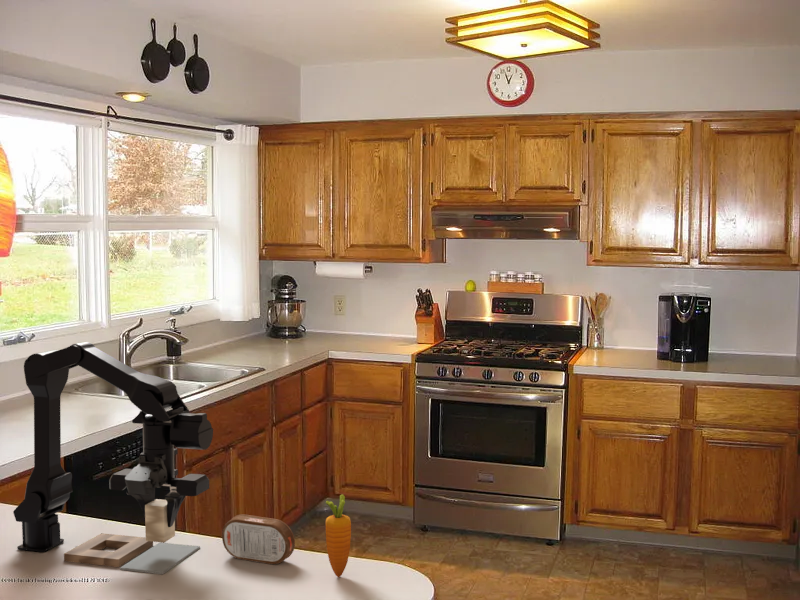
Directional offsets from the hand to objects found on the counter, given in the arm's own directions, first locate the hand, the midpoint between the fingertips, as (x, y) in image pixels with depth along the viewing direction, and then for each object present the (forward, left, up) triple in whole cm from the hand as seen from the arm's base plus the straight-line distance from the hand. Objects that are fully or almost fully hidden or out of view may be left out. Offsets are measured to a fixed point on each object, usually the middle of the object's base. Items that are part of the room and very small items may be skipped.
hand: (160, 525), depth 164 cm
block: (0, 0, -3) cm, 2 cm away
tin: (+19, +4, -7) cm, 20 cm away
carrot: (+37, 0, -7) cm, 37 cm away
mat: (0, 0, -7) cm, 7 cm away
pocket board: (-11, 0, -7) cm, 13 cm away
